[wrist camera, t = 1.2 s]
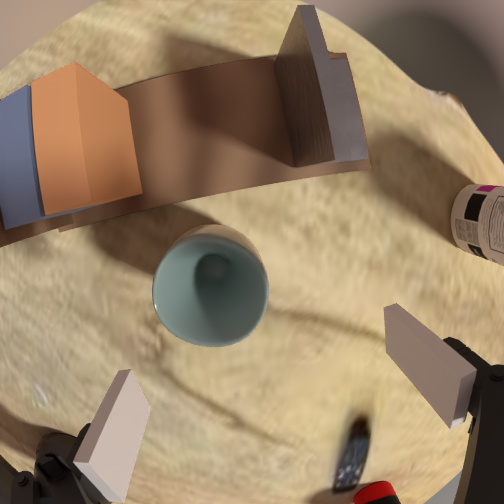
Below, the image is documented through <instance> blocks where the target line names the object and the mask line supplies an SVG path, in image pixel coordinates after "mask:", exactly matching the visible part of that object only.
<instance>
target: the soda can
mask: <svg viewBox="0 0 504 504" xmlns="http://www.w3.org/2000/svg"><path fill="white" fill-rule="evenodd" d="M354 503H355V504H401V503H400V501H399V499H398V497H397V495H396V493H395V491H394V489H393V487H392V485H391V484H390V483H389V482H377V483H374V484H371V485H369V486H367V487H365V488H363V489H362V490H361V491H359V492H358V493H357V494H356V496H355V498H354Z"/></svg>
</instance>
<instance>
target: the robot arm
mask: <svg viewBox="0 0 504 504" xmlns="http://www.w3.org/2000/svg"><path fill="white" fill-rule="evenodd" d="M384 320H385V337H386V353H387V354H388V355H389V356H390V357H391V358H392V360H393V361H394V362H395V363H396V364H397V365H398V367H399V368H400V369H401V370H402V371H403V373H404V374H405V375H406V376H407V377H408V378H409V380H410V381H411V382H412V383H413V384H414V386H415V387H416V388H417V389H418V390H419V392H420V393H421V394H422V395H423V396H424V398H425V399H426V400H427V401H428V403H429V404H430V405H431V406H432V407H433V409H434V410H435V411H436V412H437V414H438V415H439V416H440V417H441V418H442V420H443V421H444V422H445V423H446V425H447V426H448V427H449V428H450V429H452V428H454V427H456V426H457V425H459V424H461V423H463V422H464V421H465V420H466V416H467V412H468V411H469V413H470V414H471V415H472V416H473V418H472V421H471V424H470V428H469V431H468V433H470V434H469V440H468V446H467V451H466V456H465V461H464V465H463V470H462V474H461V478H460V482H459V486H458V490H457V493H456V497H455V500H454V504H504V365H499V364H497V365H492V366H491V365H490V364H488V363H487V362H486V361H485V360H483V359H482V358H481V357H480V356H479V355H477V354H476V353H475V352H473V351H471V349H470V348H468V347H466V345H465V344H463V343H462V342H461V341H460V340H457V339H454V338H451V337H448V338H445V339H443V340H442V339H440V338H439V337H438V336H437V335H436V334H434V333H433V332H432V331H431V330H429V329H428V328H427V327H426V326H424V325H423V324H422V323H421V322H420V321H418V320H417V319H416V318H415V317H413V316H412V315H411V314H410V313H408V312H407V311H406V310H405V309H403V308H402V307H401V306H399V305H398V304H397V303H396V304H393V305H390V306H387V307H384ZM150 411H151V407H150V405H149V403H148V402H147V400H146V398H145V396H144V394H143V392H142V390H141V388H140V386H139V384H138V382H137V380H136V378H135V376H134V374H133V372H132V370H131V369H128V370H121V371H118V373H117V375H116V377H115V379H114V380H113V382H112V384H111V386H110V388H109V390H108V392H107V394H106V396H105V398H104V399H103V401H102V403H101V405H100V407H99V409H98V411H97V413H96V415H95V417H94V419H93V421H92V423H87V424H86V425H85V426H84V427H83V428H82V429H81V431H80V433H79V435H78V437H77V438H75V437H72V436H69V435H65V434H60V433H50V434H47V435H45V436H44V437H43V438H42V439H41V441H40V443H39V445H38V447H37V451H36V455H37V459H36V462H35V469H34V476H33V474H32V473H31V472H29V471H22V472H18V471H17V470H16V469H15V468H14V467H12V466H11V465H10V464H9V463H8V462H7V461H6V460H5V459H4V458H3V457H2V456H1V455H0V504H111V503H112V502H122V503H124V502H125V498H126V494H127V491H128V487H129V483H130V480H131V476H132V472H133V469H134V465H135V462H136V458H137V455H138V451H139V448H140V444H141V441H142V437H143V434H144V431H145V427H146V424H147V421H148V417H149V414H150Z"/></svg>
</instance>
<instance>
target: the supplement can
mask: <svg viewBox="0 0 504 504" xmlns="http://www.w3.org/2000/svg"><path fill="white" fill-rule="evenodd" d="M451 229H452V235H453V237H454V240H455V242H456V244H457V245H458V246H459V247H460V248H461V249H462V250H463V251H465V252H468V253H471V254H474V255H476V256H479V257H482V258H484V259H487V260H490V261H492V262H495V263H498V264H500V265H503V266H504V187H503V186H493V185H481V184H472V185H467V186H466V187H465V188H463V189H462V190H461V191H460V192H459V194H458V195H457V197H456V198H455V201H454V204H453V207H452V211H451Z"/></svg>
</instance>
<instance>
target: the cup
mask: <svg viewBox="0 0 504 504" xmlns="http://www.w3.org/2000/svg"><path fill="white" fill-rule="evenodd" d="M152 298H153V305H154V308H155V311H156V314H157V316H158V318H159V320H160V321H161V323H162V324H163V325H164V326H165V327H166V328H167V330H168V331H170V332H171V333H172V334H174V335H175V336H176V337H178V338H180V339H182V340H184V341H186V342H189V343H192V344H195V345H199V346H205V347H223V346H229V345H232V344H235V343H238V342H240V341H242V340H243V339H245V338H246V337H248V336H249V335H250V334H251V333H252V332H253V331H254V330H255V329H256V328H257V326H258V324H259V323H260V321H261V320H262V318H263V315H264V313H265V310H266V307H267V302H268V298H269V282H268V276H267V271H266V269H265V266H264V264H263V261H262V259H261V257H260V254H259V252H258V250H257V248H256V247H255V246H254V244H253V243H252V242H251V241H250V239H248V238H247V237H246V236H245V235H244V234H242V233H241V232H239V231H237V230H235V229H233V228H230V227H227V226H224V225H218V224H206V225H201V226H197V227H195V228H193V229H190V230H188V231H187V232H185V233H184V234H183V235H182V236H180V237H179V238H178V239H177V240H176V241H175V242H174V243H173V244H172V245H171V246H170V247H169V249H168V250H167V251H166V253H165V254H164V255H163V256H162V258H161V260H160V262H159V264H158V266H157V268H156V271H155V275H154V278H153V286H152Z"/></svg>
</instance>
